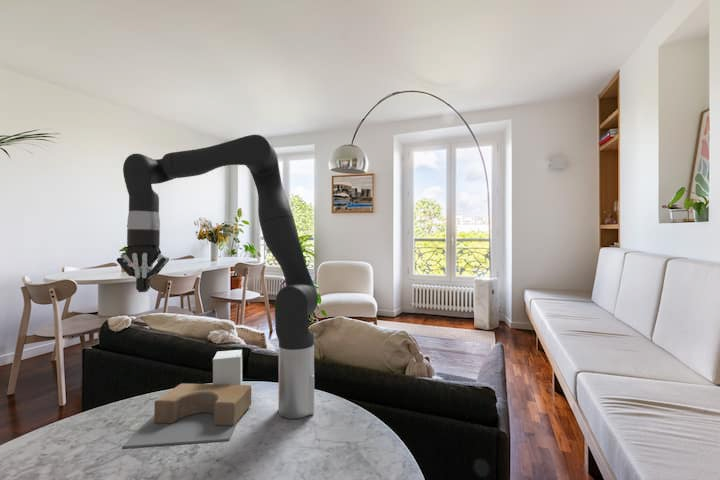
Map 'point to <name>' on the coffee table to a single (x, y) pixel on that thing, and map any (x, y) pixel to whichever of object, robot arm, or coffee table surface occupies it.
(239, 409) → the decorative block
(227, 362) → the supplement box
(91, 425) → the coffee table surface
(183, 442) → the mat
